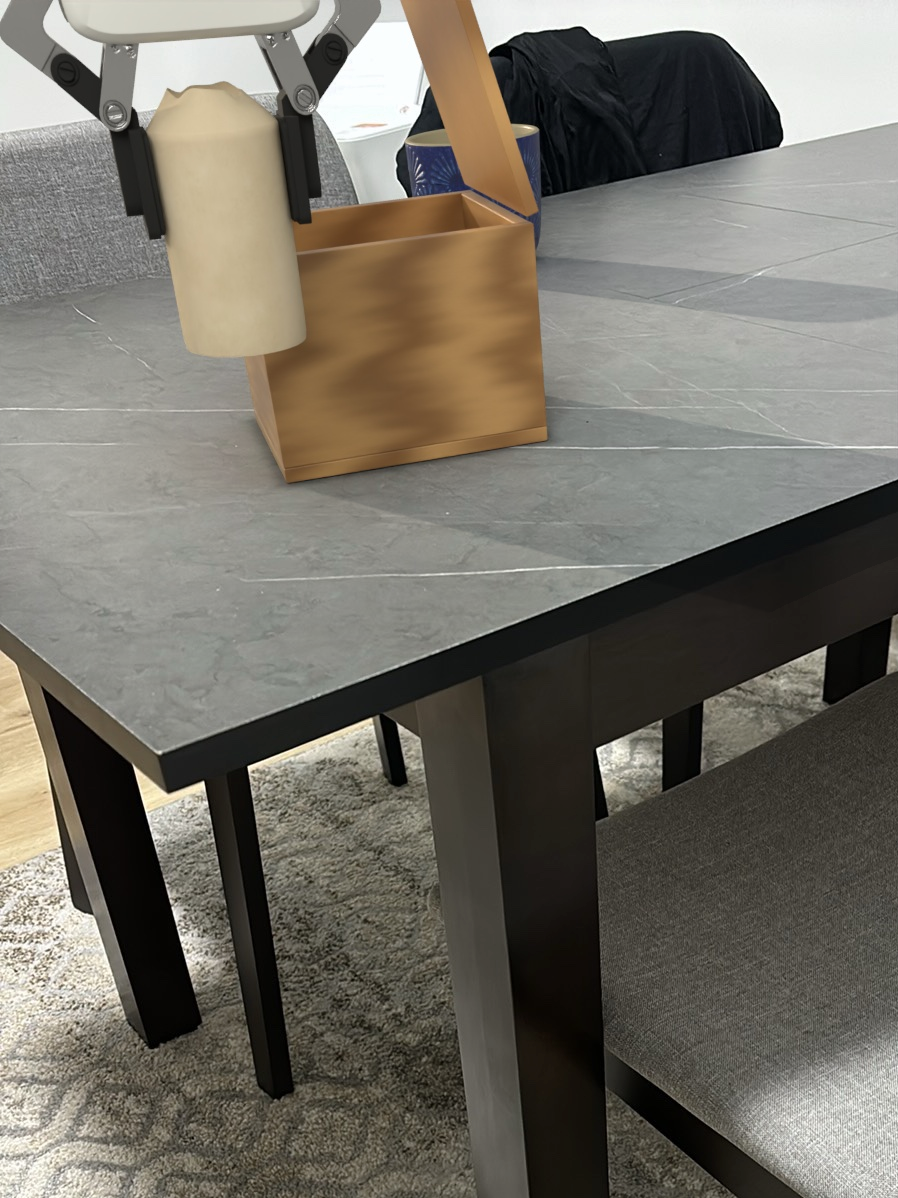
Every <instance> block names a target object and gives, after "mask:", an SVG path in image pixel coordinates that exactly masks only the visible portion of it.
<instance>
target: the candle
mask: <svg viewBox="0 0 898 1198" xmlns="http://www.w3.org/2000/svg"><path fill="white" fill-rule="evenodd" d="M273 115H274V114H272V113H271V112H270V111H269V110H267V108H265V107H264V106H263V104H261V103H259V102H258V101H257V100H256V99H254V98H253V97H252V96H251V95H250V94H248V93H247V92H245V91H244V90H243V89H241V88H239V87H237V86H236V85H234V84H233V83H230V82H229V81H225V80H222V81H217V82H215V83H211V84H192V85H189V86H187V87H186V88H184V89H183V90H182V91H175V90H173V89H171V88H169V87H166V88H165V91H164V94H163V96H162V98H161V100H160V102H159V105H158V106H157V108H156V110H155V112H154V114H153V115H152V117H151V119H150V121H149V123H148V125H147V126H146V128H145V131H146V133H147V137H148V142H149V147H150V152H151V158H152V163H153V168H154V173H155V179H156V184H157V189H158V195H159V200H160V205H161V211H162V216H163V221H164V227H165V232H166V235H163V236H164V240H165V241H164V243H165V247H166V253H167V258H168V264H169V270H170V274H171V279H172V284H173V289H174V294H175V301H176V306H177V311H178V316H179V321H180V326H181V332H182V337H183V341H184V343H185V347H186V349H187V351H188V352H190V353H192V354H193V355H197V356H203V357H210V358H244V357H246V356H255V355H262V354H268V353H273V352H278V351H282V350H286V349H289V348H292V347H294V346H297V345H299V344H300V343H302V342H303V341H304V340H305V339H306V323H305V314H304V306H303V299H302V292H301V284H300V277H299V270H298V263H297V255H296V248H295V241H294V233H293V226H292V219H291V212H290V204H289V197H288V190H287V182H286V175H285V168H284V161H283V153H282V146H281V139H280V131H279V124H278V121H277V120H276V119H275V118H274V117H273Z"/></svg>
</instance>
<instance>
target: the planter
mask: <svg viewBox="0 0 898 1198" xmlns="http://www.w3.org/2000/svg"><path fill="white" fill-rule="evenodd" d="M511 126H512V129H513V133H514V136H515V139H516V142H517V145H518V148H519V151H520V154H521V157H522V160H523V163H524V167H525V170H526V173H527V176H528V179H529V182H530V185H531V188H532V191H533V194H534V198H535V201H536V204H537V207H538V210H539V211H538V212H537V213H535V214H533V215H531V216H529V217H526V216H524V215H522V214H521V213H519V212H517V211H515V210H513V209H511V208H509V207H507V206H505V205H504V204H502V203H500V202H498V201H496V200H494V199H492V198H490V197H488V196H486V195H485V194H483V193H481V192H479V191H477V190H475V189H473V188H471V187H469V186H467V185H466V184H465V183H464V180H463V178H462V175H461V172H460V169H459V166H458V163H457V161H456V158H455V155H454V152H453V149H452V146H451V144H450V141H449V138H448V135H447V132H446V129H445V128H440V129H434V130H430V131H429V130H428V131H425V132H420V133H417V134H414V135H411V136H409V137H407V138H405V140H404V146H405V153H406V161H407V168H408V173H409V175H408V176H409V182H410V187H411V196H412V197H419V196H427V195H435V194H442V193H450V192H458V191H466V190H472V191H473V192H475V193H477V194H478V195H480V196H482V197H484V198H486V199H488V200H490V201H491V202H493V203H495V204H497V205H499V206H501V207H503V208H505V209H506V210H508V211H510V212H512V213H514V214H516V215H518V216H520V217H521V218H523V219H525V220H527V221H529V222H531V223H533V224H534V239H535V252H536V251H537V248H538V247H539V243H540V239H541V230H542V229H541V228H542V178H541V174H542V173H541V150H540V149H541V148H540V147H541V146H540V129H539V128H538V127H537V126H535V125H530V124H524V123H522V124H521V123H511Z"/></svg>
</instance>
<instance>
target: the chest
mask: <svg viewBox="0 0 898 1198" xmlns="http://www.w3.org/2000/svg"><path fill="white" fill-rule="evenodd" d="M311 217H312V223H311V224H301V225H300V224H299V223H298V222H294V221H293V220H292V226H293V233H294V241H295V248H296V255H297V263H298V270H299V277H300V284H301V292H302V299H303V306H304V314H305V323H306V339H305V340H304V341H303V342H302V343H300V344H299V345H297V346H294V347H292V348H289V349H286V350H282V351H278V352H273V353H268V354H262V355H255V356H246V357H243V360H244V364H245V365H244V366H245V369H246V374H247V375H246V376H247V380H248V381H247V382H248V387H249V391H250V396H251V403H252V407H253V412H254V418H255V421H256V423H257V425H258V427H259V429H260V431H261V433H262V435H263V437H264V440H265V442H266V444H267V445H268V447H269V450H270V452H271V454H272V456H273V458H274V460H275V463H277V464H276V465H277V466H278V468H279V471H280V472H281V474H282V476H283V479H284V480H285V482H286V484H291V483H297V482H305V481H309V480H316V479H322V478H328V477H333V476H339V475H340V476H341V475H346V474H352V473H358V472H365V471H371V470H377V469H383V468H388V467H394V466H400V465H407V464H413V463H419V462H426V461H430V460H437V459H443V458H449V457H455V456H462V455H467V454H474V453H478V452H479V453H480V452H486V451H492V450H498V449H504V448H509V447H515V446H521V445H528V444H533V443H540V442H546V441H548V423H547V422H548V421H547V407H546V405H547V404H546V391H545V376H544V362H543V347H542V345H543V344H542V332H541V331H542V330H541V318H540V317H541V316H540V315H541V313H540V301H539V286H538V285H539V284H538V271H537V257H536V251H535V239H534V224H533V223H531V222H529V221H527V220H525V219H523V218H521V217H520V216H518V215H516V214H514V213H512V212H510V211H508V210H506V209H505V208H503V207H501V206H499V205H497V204H495V203H493V202H491V201H490V200H488V199H486V198H484V197H482V196H480V195H478V194H477V193H475V192H473V191H472V190H466V191H458V192H450V193H442V194H435V195H427V196H419V197H413V196H412V197H404V198H403V197H402V198H395V199H388V200H381V201H372V202H365V203H358V204H349V205H341V206H335V207H334V206H333V207H326V208H317V209H311Z"/></svg>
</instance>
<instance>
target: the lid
mask: <svg viewBox="0 0 898 1198" xmlns="http://www.w3.org/2000/svg"><path fill="white" fill-rule="evenodd" d="M399 2H400V3H401V4H400V5H401V7H402V10H403V12H404V16H405V18H406V21H407V25H408V26H409V29H410V33H411V36H412V38H413V41H414V44H415V47H416V50H417V52H418V55H419V59H420V61H421V64H422V67H423V69H424V72H425V75H426V78H427V81H428V84H429V86H430V89H431V93H432V95H433V98H434V101H435V104H436V107H437V110H438V113H439V116H440V118H441V120H442V123H443V124H442V125H443V126H444V129H446V132H447V135H448V138H449V141H450V144H451V146H452V149H453V152H454V155H455V158H456V161H457V163H458V166H459V169H460V172H461V175H462V178H463V180H464V183H465V184H466V185H467V186H469V187H471V188H473V189H475V190H477V191H479V192H481V193H483V194H485V195H486V196H488V197H490V198H492V199H494V200H496V201H498V202H500V203H502V204H504V205H505V206H507V207H509V208H511V209H513V210H515V211H517V212H519V213H521V214H522V215H524V216H526V217H529V216H531V215H533V214H535V213H537V212H538V211H539V210H538V207H537V204H536V201H535V198H534V194H533V191H532V188H531V185H530V182H529V179H528V176H527V173H526V170H525V167H524V163H523V160H522V157H521V154H520V151H519V148H518V145H517V142H516V139H515V136H514V133H513V129H512V126H511V124H512V123H511V121H510V117H509V114H508V111H507V108H506V105H505V102H504V99H503V97H502V92H501V89H500V87H499V83H498V80H497V77H496V74H495V70H494V68H493V64H492V61H491V59H490V56H489V53H488V49H487V46H486V43H485V39H484V37H483V34H482V30H481V27H480V24H479V21H478V18H477V15H476V12H475V10H474V6H473V3H472V0H399Z"/></svg>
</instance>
